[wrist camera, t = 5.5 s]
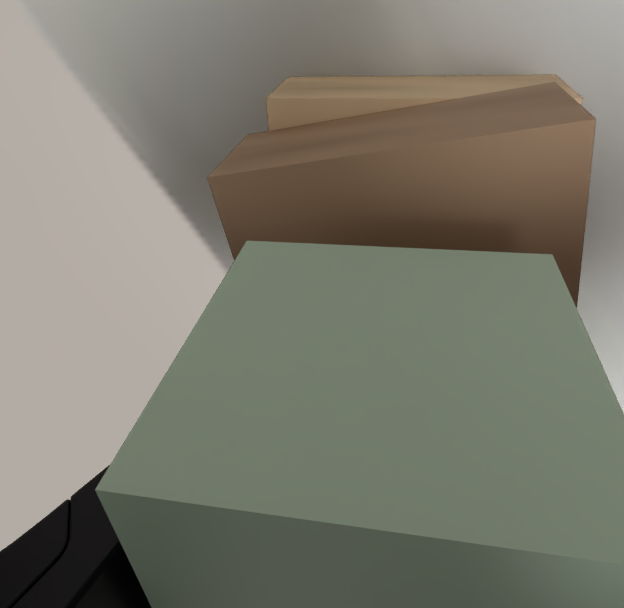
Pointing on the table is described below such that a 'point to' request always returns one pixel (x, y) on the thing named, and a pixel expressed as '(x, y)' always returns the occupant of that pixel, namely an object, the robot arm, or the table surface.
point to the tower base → (381, 94)
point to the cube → (378, 440)
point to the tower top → (422, 179)
